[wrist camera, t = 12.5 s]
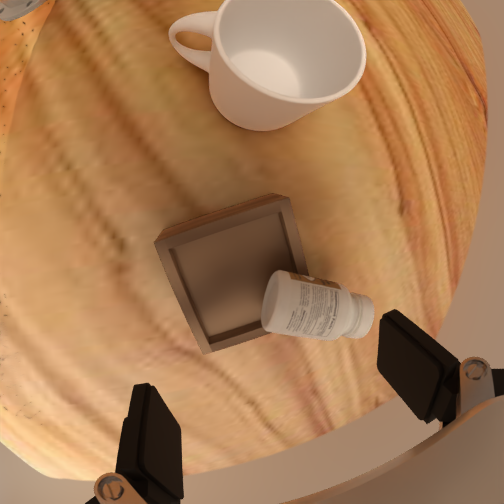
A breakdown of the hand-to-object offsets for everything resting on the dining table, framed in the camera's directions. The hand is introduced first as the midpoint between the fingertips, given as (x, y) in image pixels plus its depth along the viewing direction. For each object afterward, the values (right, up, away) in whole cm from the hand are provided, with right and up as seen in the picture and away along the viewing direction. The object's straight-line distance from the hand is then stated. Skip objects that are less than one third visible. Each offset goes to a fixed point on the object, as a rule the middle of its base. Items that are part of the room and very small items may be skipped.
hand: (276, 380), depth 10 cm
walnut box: (-2, +4, +16) cm, 16 cm away
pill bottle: (0, +2, +9) cm, 9 cm away
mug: (-2, +20, +11) cm, 23 cm away
